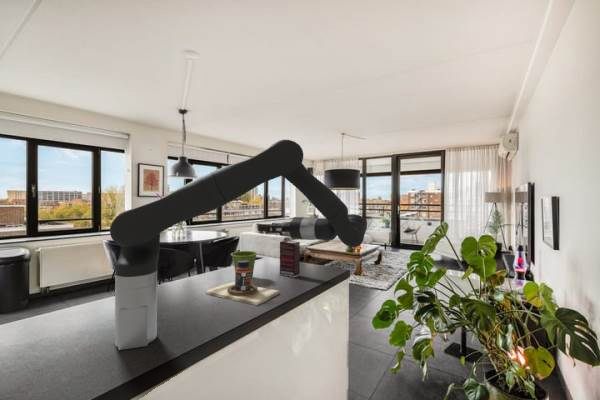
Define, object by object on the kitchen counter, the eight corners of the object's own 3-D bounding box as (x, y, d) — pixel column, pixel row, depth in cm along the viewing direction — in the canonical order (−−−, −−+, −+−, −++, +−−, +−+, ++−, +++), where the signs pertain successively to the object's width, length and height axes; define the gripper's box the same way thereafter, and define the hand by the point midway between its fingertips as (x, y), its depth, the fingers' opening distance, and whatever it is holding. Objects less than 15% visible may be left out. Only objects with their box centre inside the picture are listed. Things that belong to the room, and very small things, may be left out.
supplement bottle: (247, 294, 106) (247, 263, 106) (232, 292, 107) (232, 262, 107) (253, 289, 112) (253, 259, 112) (238, 288, 113) (239, 259, 113)
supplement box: (300, 275, 135) (300, 241, 135) (294, 278, 131) (294, 243, 131) (284, 273, 140) (285, 240, 140) (279, 275, 136) (279, 241, 136)
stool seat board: (279, 293, 110) (279, 287, 110) (257, 305, 97) (257, 298, 97) (230, 284, 121) (230, 278, 121) (205, 293, 109) (205, 287, 109)
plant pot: (239, 273, 138) (239, 250, 138) (261, 276, 134) (261, 251, 134) (225, 280, 127) (225, 254, 126) (249, 283, 123) (249, 256, 123)
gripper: (314, 216, 103) (275, 215, 111) (296, 218, 91) (253, 217, 98) (314, 237, 103) (275, 235, 111) (296, 242, 90) (253, 239, 98)
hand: (265, 226), depth 104 cm, fingers open, 8 cm apart
